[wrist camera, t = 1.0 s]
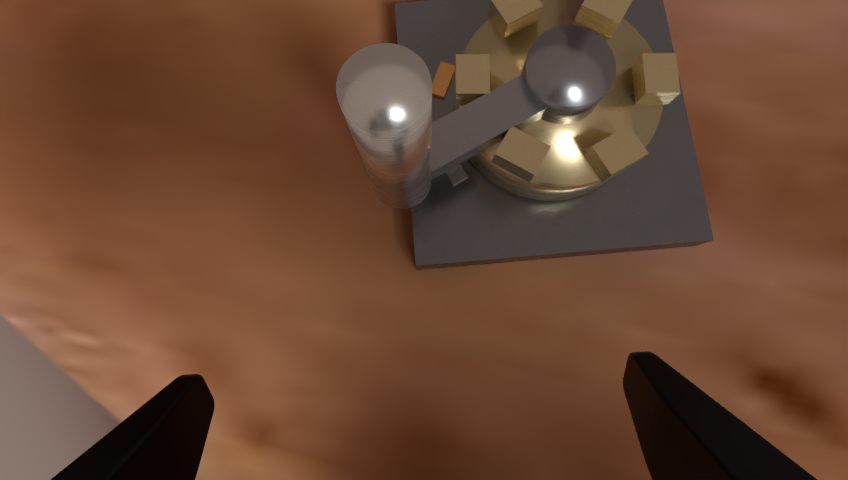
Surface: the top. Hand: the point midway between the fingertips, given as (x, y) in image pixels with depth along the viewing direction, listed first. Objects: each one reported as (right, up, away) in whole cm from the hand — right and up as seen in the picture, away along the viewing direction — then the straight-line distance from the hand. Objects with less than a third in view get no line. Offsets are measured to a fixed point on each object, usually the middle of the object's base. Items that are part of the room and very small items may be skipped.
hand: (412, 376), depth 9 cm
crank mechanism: (+4, +8, +12) cm, 15 cm away
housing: (+6, +9, +14) cm, 18 cm away
